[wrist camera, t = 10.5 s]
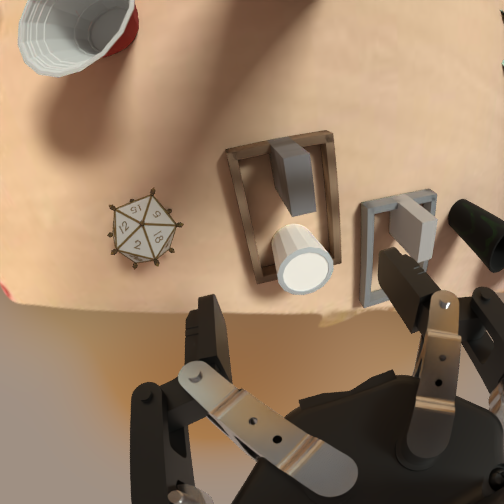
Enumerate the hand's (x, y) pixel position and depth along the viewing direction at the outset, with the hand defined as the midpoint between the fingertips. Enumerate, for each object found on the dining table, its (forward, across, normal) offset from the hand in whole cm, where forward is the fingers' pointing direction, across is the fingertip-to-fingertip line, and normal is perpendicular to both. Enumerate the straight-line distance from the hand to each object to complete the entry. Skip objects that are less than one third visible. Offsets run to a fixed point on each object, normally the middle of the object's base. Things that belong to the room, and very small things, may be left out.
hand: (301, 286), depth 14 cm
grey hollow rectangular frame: (+23, -20, +19) cm, 36 cm away
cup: (+24, -34, +16) cm, 44 cm away
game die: (+24, +13, +4) cm, 27 cm away
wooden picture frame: (+23, -4, +8) cm, 25 cm away
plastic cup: (+24, +11, -19) cm, 32 cm away
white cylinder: (+24, -4, +13) cm, 27 cm away
